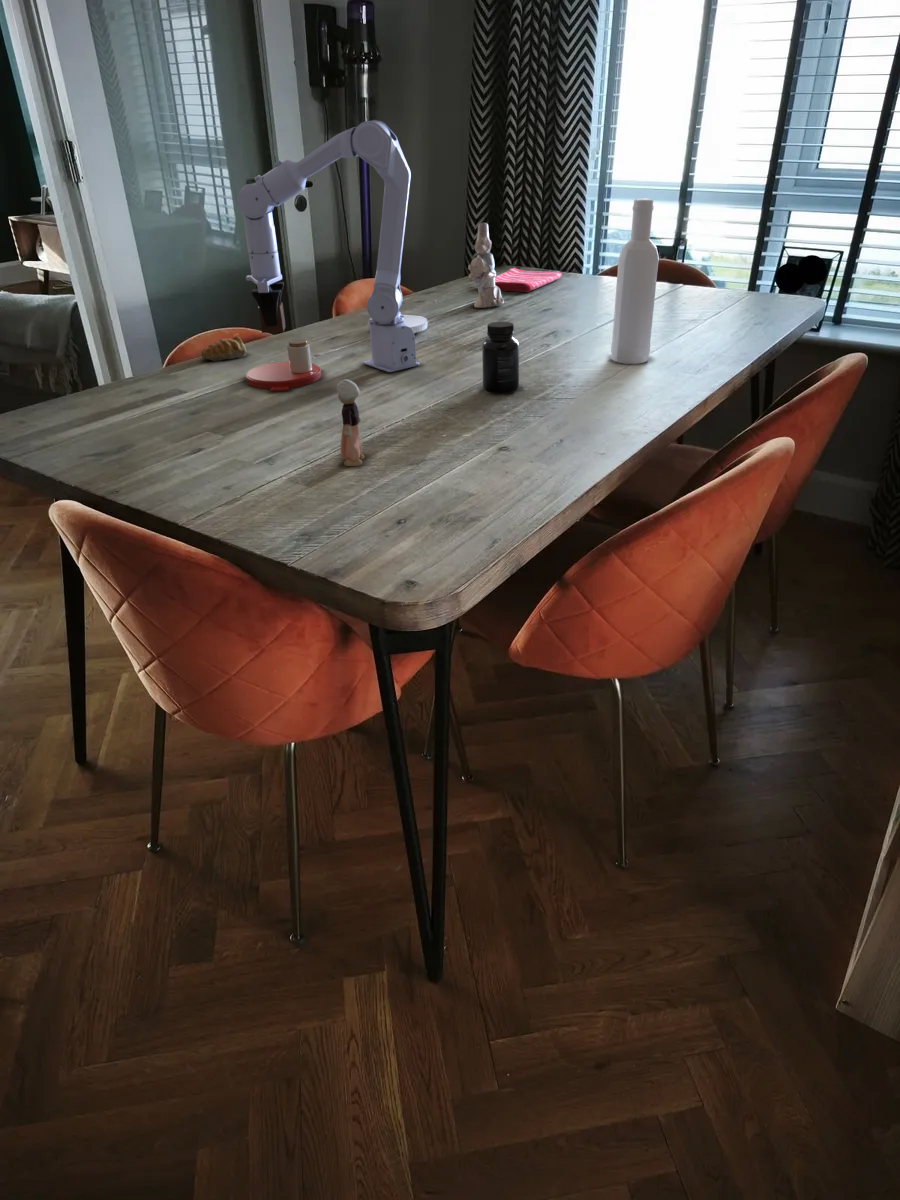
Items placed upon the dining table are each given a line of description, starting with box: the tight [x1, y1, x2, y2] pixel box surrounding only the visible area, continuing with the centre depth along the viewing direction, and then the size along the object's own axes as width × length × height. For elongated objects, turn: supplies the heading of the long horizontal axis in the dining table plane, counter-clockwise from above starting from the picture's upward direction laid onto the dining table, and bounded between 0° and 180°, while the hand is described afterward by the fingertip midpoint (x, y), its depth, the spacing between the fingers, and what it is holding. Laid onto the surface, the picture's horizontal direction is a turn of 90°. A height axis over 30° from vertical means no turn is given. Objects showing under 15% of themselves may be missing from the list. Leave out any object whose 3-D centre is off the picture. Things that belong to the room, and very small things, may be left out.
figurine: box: [467, 222, 505, 309], centre depth 209 cm, size 9×8×20 cm
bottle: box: [610, 197, 660, 365], centre depth 159 cm, size 8×8×30 cm
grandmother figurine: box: [336, 379, 365, 467], centre depth 120 cm, size 8×4×13 cm, turn 5°
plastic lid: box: [367, 314, 428, 334], centre depth 192 cm, size 14×14×2 cm
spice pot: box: [286, 338, 313, 373], centre depth 160 cm, size 4×4×6 cm
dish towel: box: [495, 267, 563, 293], centre depth 237 cm, size 17×24×3 cm
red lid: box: [245, 360, 322, 393], centre depth 161 cm, size 17×15×1 cm
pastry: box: [201, 336, 247, 362], centre depth 176 cm, size 9×7×4 cm
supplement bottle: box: [481, 321, 520, 395], centre depth 149 cm, size 7×7×12 cm
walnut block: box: [257, 301, 286, 334], centre depth 165 cm, size 4×4×5 cm
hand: (273, 322), depth 165 cm, fingers closed on walnut block, 4 cm apart
